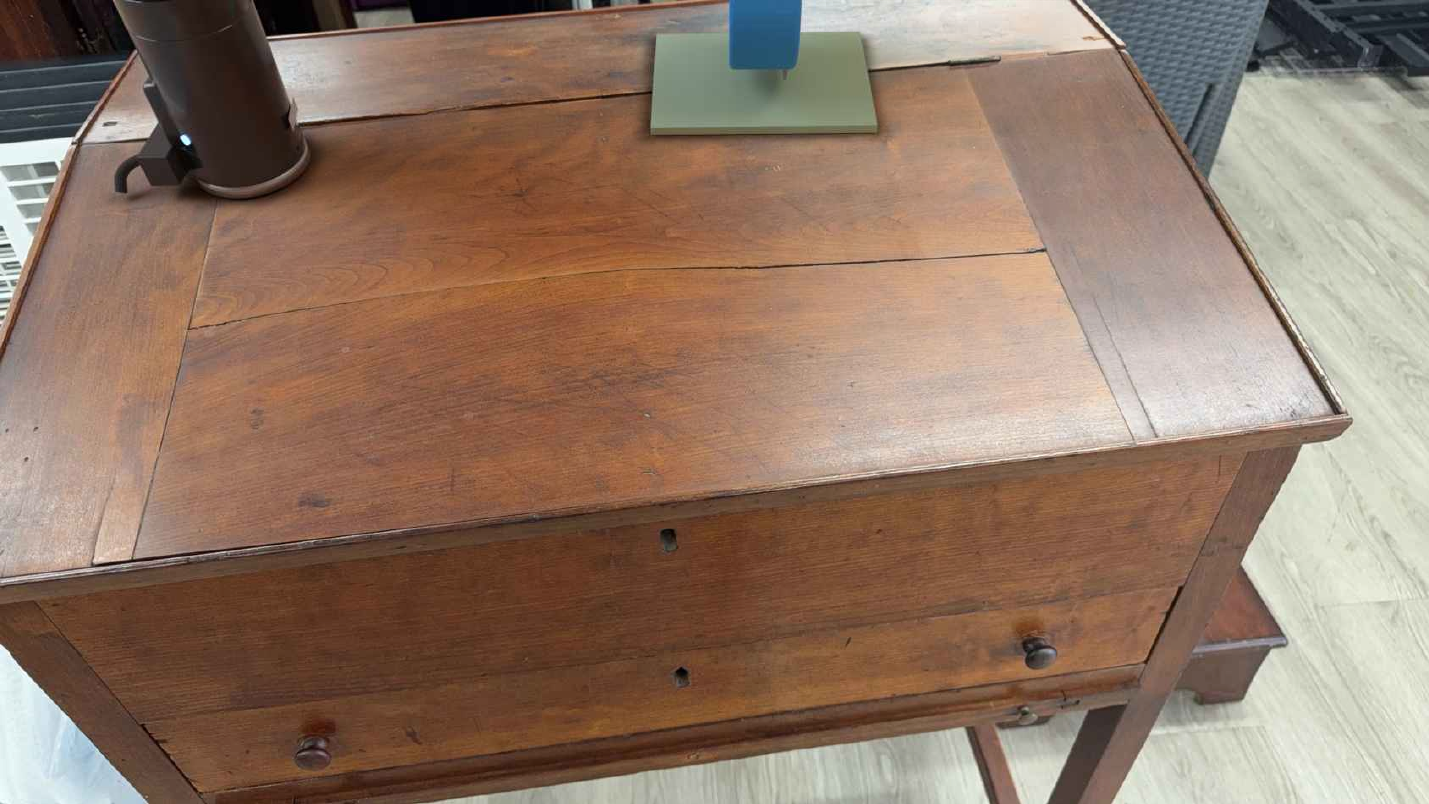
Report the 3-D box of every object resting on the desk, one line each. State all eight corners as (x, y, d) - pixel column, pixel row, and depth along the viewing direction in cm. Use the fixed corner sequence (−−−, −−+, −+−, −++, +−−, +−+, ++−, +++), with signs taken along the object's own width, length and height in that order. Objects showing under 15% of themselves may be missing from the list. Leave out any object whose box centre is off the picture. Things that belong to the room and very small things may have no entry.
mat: (650, 135, 91) (650, 127, 90) (656, 41, 101) (656, 33, 101) (876, 132, 90) (877, 125, 90) (859, 38, 101) (860, 31, 100)
